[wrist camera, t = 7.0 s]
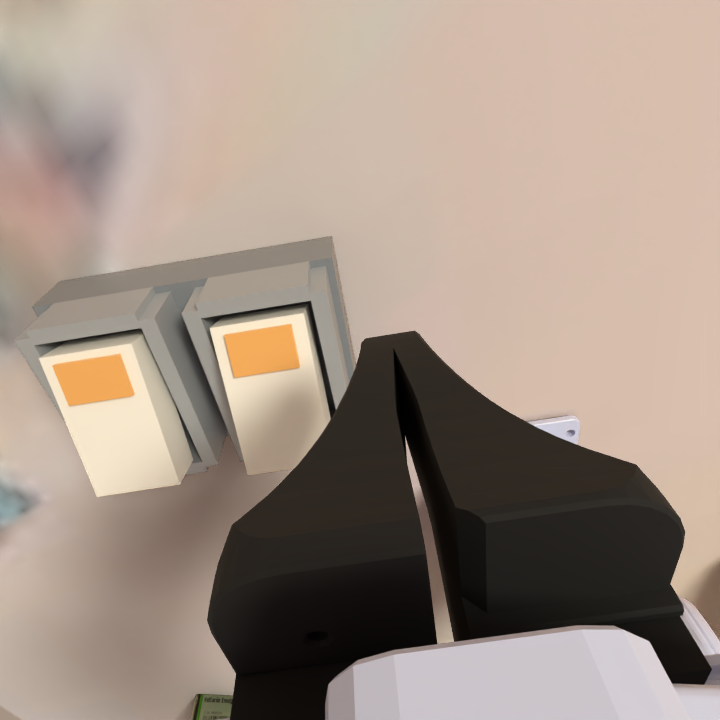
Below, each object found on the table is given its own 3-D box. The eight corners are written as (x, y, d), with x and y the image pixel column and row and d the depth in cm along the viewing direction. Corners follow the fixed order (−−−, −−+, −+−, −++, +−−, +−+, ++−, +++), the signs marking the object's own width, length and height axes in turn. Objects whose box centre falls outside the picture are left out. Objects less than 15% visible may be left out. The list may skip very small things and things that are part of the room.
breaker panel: (360, 385, 25) (365, 447, 22) (133, 420, 26) (99, 487, 22) (332, 236, 21) (332, 281, 17) (59, 281, 21) (0, 335, 18)
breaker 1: (193, 460, 21) (178, 487, 19) (116, 471, 21) (94, 500, 20) (150, 328, 19) (128, 345, 17) (65, 342, 19) (34, 360, 17)
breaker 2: (335, 441, 21) (333, 465, 19) (256, 453, 21) (246, 478, 19) (308, 303, 19) (303, 314, 17) (222, 317, 19) (208, 329, 17)
